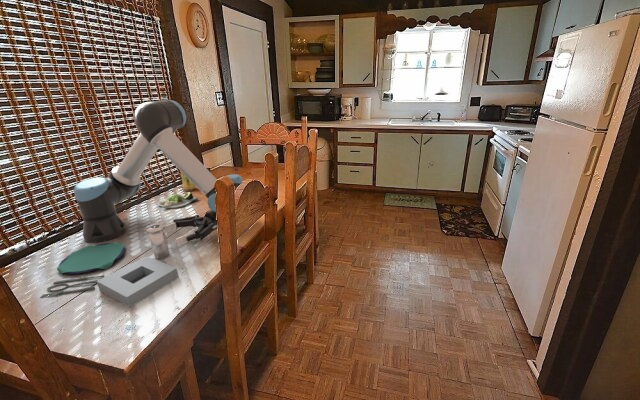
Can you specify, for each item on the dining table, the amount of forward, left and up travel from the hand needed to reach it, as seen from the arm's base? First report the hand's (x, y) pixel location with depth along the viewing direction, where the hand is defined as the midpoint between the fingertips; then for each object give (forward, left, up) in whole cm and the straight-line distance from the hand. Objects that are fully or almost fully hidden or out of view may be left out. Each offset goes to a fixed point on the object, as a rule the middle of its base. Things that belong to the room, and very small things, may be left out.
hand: (167, 236), depth 111 cm
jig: (+8, -17, -7) cm, 20 cm away
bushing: (-1, -3, -7) cm, 7 cm away
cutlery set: (-18, -20, -8) cm, 28 cm away
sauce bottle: (-54, +52, -7) cm, 76 cm away
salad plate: (-43, +36, -7) cm, 57 cm away
